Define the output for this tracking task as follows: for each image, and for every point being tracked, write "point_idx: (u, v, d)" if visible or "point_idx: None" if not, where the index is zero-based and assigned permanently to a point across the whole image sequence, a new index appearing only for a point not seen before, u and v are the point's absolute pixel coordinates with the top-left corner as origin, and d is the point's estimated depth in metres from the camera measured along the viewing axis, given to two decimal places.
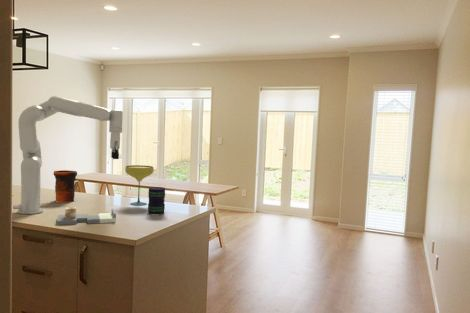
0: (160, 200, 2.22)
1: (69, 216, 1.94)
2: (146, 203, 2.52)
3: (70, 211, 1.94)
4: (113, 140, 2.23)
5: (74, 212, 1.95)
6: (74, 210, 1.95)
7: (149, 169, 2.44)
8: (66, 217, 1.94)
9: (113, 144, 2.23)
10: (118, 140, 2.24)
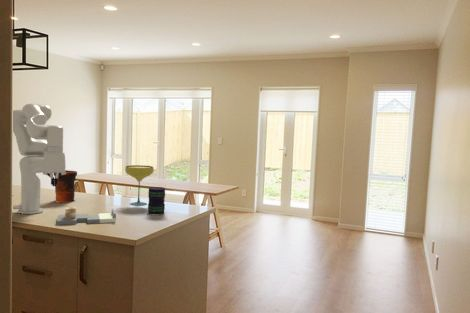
0: (160, 200, 2.22)
1: (69, 216, 1.94)
2: (146, 203, 2.52)
3: (70, 211, 1.94)
4: None
5: (74, 212, 1.95)
6: (74, 210, 1.95)
7: (149, 169, 2.44)
8: (66, 217, 1.94)
9: None
10: None
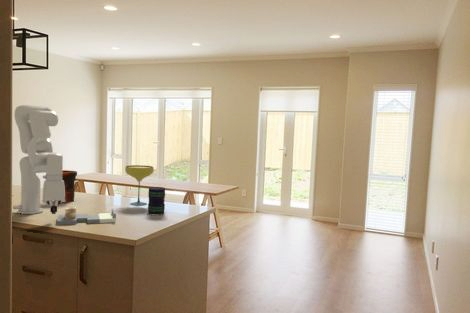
0: (160, 200, 2.22)
1: (69, 216, 1.94)
2: (146, 203, 2.52)
3: (70, 211, 1.94)
4: (64, 190, 1.93)
5: (74, 212, 1.95)
6: (74, 210, 1.95)
7: (149, 169, 2.44)
8: (66, 217, 1.94)
9: (64, 194, 1.93)
10: None
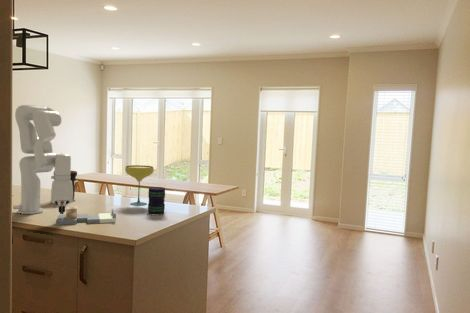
0: (160, 200, 2.22)
1: (70, 216, 1.94)
2: (146, 203, 2.52)
3: (71, 211, 1.94)
4: (72, 190, 1.95)
5: (75, 212, 1.95)
6: (75, 210, 1.95)
7: (149, 169, 2.44)
8: (67, 217, 1.94)
9: (72, 194, 1.95)
10: None
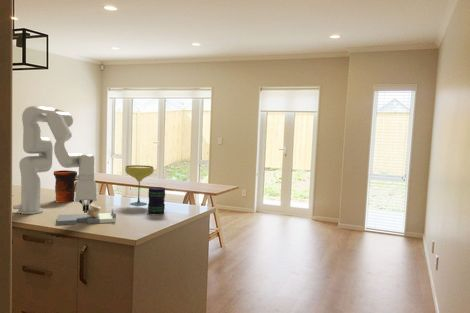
0: (160, 200, 2.22)
1: (91, 214, 1.98)
2: (146, 203, 2.52)
3: (93, 210, 1.98)
4: None
5: (97, 212, 1.98)
6: (98, 210, 1.98)
7: (149, 169, 2.44)
8: (88, 214, 1.97)
9: None
10: None
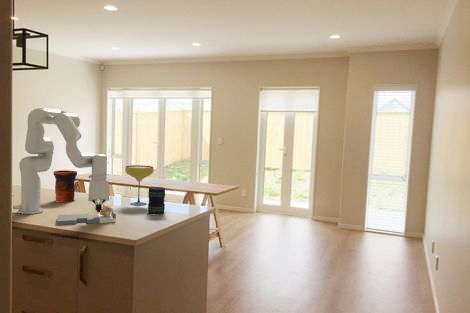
0: (160, 200, 2.22)
1: (104, 213, 2.00)
2: (146, 203, 2.52)
3: (106, 209, 2.00)
4: (108, 189, 2.01)
5: (109, 211, 2.00)
6: (110, 209, 2.00)
7: (149, 169, 2.44)
8: (101, 213, 1.99)
9: None
10: None
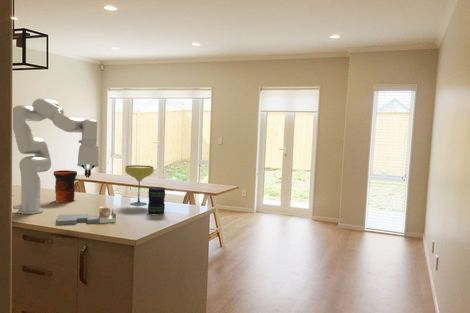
0: (160, 200, 2.22)
1: (103, 215, 2.00)
2: (146, 203, 2.52)
3: (103, 210, 2.00)
4: (98, 155, 2.01)
5: (107, 211, 2.00)
6: (107, 209, 2.00)
7: (149, 169, 2.44)
8: (100, 216, 1.99)
9: (98, 159, 2.01)
10: None
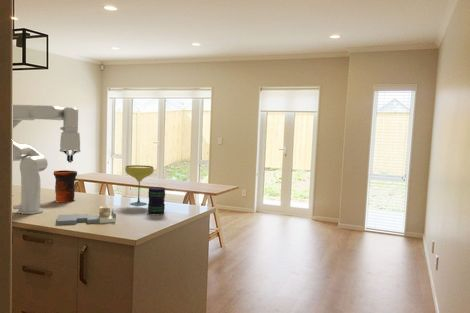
0: (160, 200, 2.22)
1: (103, 215, 2.00)
2: (146, 203, 2.52)
3: (103, 210, 2.00)
4: (79, 141, 2.12)
5: (107, 211, 2.00)
6: (107, 209, 2.00)
7: (149, 169, 2.44)
8: (100, 216, 1.99)
9: None
10: None
